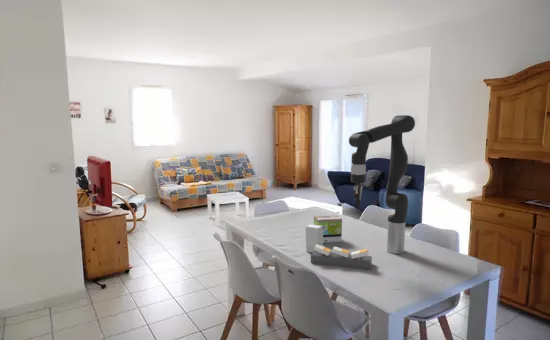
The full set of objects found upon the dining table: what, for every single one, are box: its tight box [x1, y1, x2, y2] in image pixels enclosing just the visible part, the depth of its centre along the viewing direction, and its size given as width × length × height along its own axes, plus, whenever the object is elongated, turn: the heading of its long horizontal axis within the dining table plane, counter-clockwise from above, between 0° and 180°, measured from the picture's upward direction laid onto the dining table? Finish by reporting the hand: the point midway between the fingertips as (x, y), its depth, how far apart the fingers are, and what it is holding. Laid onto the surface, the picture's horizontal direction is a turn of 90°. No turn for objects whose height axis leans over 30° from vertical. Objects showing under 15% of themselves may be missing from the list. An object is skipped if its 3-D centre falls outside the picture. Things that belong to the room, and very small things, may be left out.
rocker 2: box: [331, 246, 350, 257], centre depth 191 cm, size 4×8×2 cm, turn 71°
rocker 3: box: [350, 248, 369, 259], centre depth 188 cm, size 4×8×2 cm, turn 71°
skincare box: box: [304, 224, 324, 254], centre depth 211 cm, size 8×6×15 cm
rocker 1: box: [314, 244, 332, 256], centre depth 194 cm, size 4×8×2 cm, turn 71°
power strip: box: [310, 250, 373, 270], centre depth 194 cm, size 8×30×5 cm, turn 71°
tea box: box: [313, 214, 343, 244], centre depth 230 cm, size 15×10×15 cm
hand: (357, 206), depth 195 cm, fingers closed
